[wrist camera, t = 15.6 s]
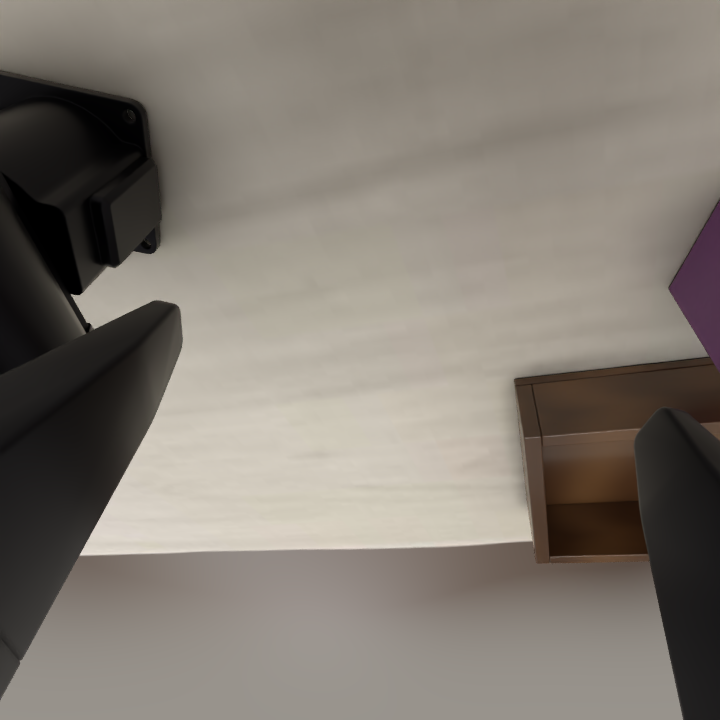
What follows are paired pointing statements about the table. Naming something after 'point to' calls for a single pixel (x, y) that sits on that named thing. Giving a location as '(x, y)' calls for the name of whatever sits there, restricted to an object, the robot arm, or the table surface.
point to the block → (702, 287)
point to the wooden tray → (599, 452)
